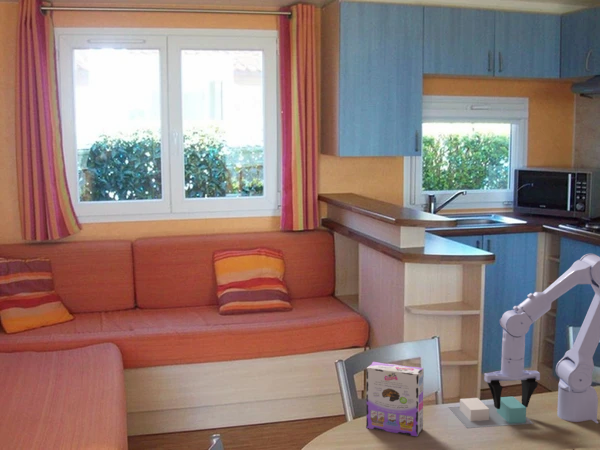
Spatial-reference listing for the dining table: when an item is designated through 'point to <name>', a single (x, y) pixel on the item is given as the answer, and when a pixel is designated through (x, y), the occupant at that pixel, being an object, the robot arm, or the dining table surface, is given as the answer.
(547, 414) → the dining table surface
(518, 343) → the robot arm
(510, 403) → the teal brick
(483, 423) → the baseplate
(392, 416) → the candy box
